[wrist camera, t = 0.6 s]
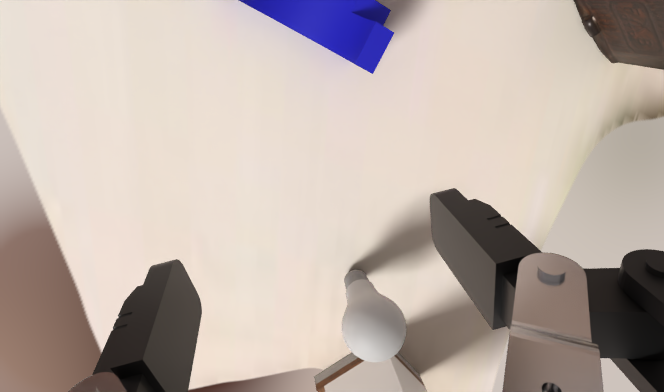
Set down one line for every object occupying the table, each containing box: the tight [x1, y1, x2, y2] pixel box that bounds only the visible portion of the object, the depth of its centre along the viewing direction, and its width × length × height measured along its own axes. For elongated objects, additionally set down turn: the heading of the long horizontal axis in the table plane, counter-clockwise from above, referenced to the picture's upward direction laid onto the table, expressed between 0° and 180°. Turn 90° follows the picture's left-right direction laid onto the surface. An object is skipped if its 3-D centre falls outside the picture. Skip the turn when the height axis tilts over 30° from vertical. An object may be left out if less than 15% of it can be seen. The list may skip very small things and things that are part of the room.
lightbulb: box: [342, 270, 406, 362], centre depth 37 cm, size 6×6×11 cm
